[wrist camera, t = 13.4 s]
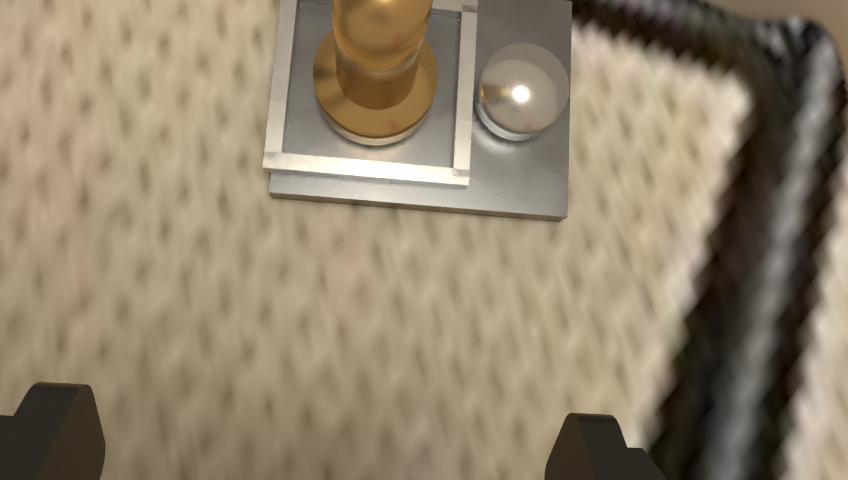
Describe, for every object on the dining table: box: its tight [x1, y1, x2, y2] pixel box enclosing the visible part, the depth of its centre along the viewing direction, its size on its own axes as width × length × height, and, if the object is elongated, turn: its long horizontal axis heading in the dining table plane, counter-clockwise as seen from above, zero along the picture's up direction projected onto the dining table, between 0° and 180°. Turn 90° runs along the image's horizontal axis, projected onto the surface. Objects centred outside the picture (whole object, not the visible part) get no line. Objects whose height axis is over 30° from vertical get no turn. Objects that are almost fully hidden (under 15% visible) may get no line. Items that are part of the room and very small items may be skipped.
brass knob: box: [313, 0, 438, 145], centre depth 27 cm, size 6×6×10 cm
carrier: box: [263, 0, 572, 222], centre depth 32 cm, size 15×12×3 cm
